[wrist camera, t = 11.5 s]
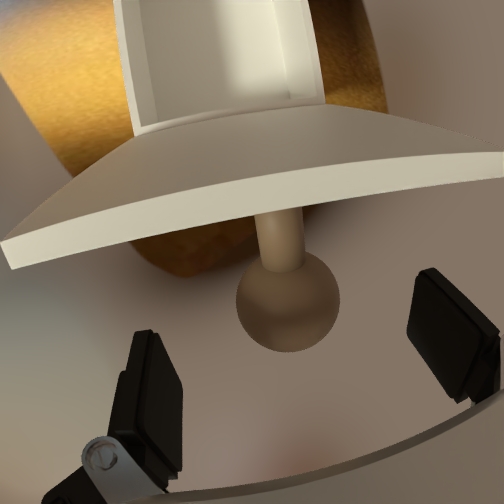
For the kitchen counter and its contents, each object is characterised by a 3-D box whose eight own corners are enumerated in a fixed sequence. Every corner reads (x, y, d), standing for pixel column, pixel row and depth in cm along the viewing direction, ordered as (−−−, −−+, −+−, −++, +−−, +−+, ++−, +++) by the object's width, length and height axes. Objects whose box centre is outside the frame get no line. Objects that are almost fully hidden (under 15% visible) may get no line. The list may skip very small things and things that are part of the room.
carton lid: (-1, 242, 6) (106, 412, 9) (513, 151, 7) (473, 325, 10) (132, 138, 20) (155, 225, 24) (328, 104, 21) (335, 191, 24)
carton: (133, -8, 21) (110, -43, 13) (269, -30, 22) (289, -69, 14) (155, 130, 28) (134, 137, 20) (294, 105, 29) (325, 104, 21)
